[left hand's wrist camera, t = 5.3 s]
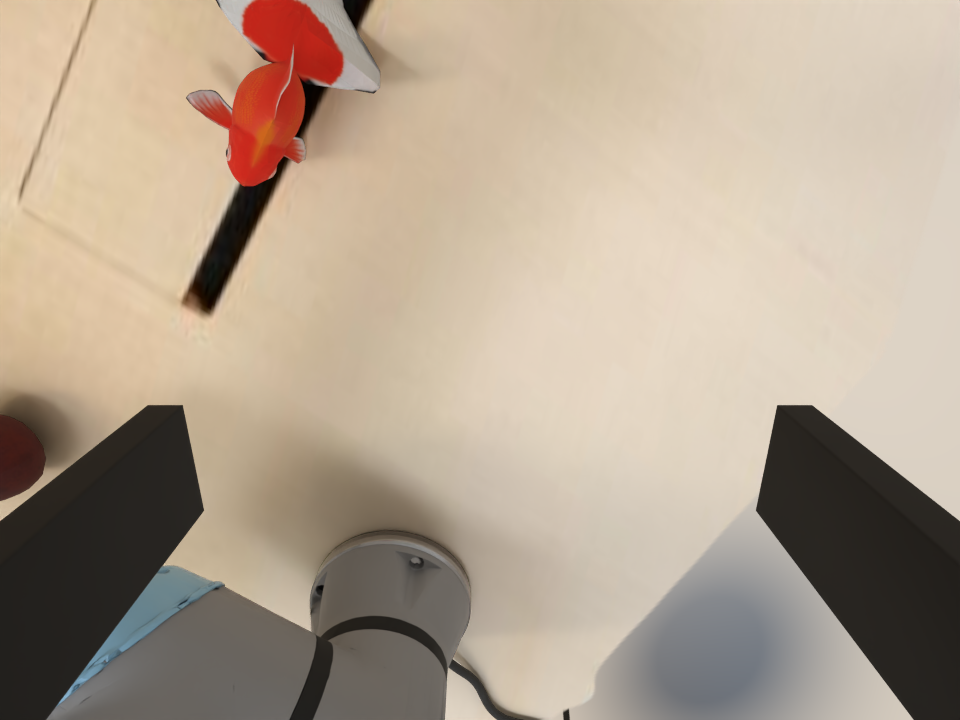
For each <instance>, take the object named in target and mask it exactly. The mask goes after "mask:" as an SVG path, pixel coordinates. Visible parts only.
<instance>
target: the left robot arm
mask: <svg viewBox="0 0 960 720" xmlns="http://www.w3.org/2000/svg"><path fill="white" fill-rule="evenodd" d="M203 511H204V508H203V503H202V498H201V493H200V488H199V483H198V478H197V473H196V469H195V464H194V459H193V454H192V449H191V444H190V439H189V434H188V429H187V424H186V419H185V414H184V410H183V405H148V406H146V407H145V408H144V409H143V410H141V411H140V412H139V413H138V414H136V415H135V416H134V417H132V418H131V419H130V420H129V421H127V422H126V423H125V424H124V425H122V426H121V427H120V428H118V429H117V430H116V431H115V432H113V433H112V434H111V435H109V436H108V437H107V438H106V439H104V440H103V441H102V442H101V443H99V444H98V445H97V446H95V447H94V448H93V449H92V450H90V451H89V452H88V453H87V454H85V455H84V456H83V457H81V458H80V459H79V460H78V461H76V462H75V463H74V464H73V465H71V466H70V467H69V468H67V469H66V470H65V471H64V472H62V473H61V474H60V475H59V476H57V477H56V478H55V479H53V480H52V481H51V482H50V483H48V484H47V485H46V486H45V487H43V488H42V489H41V490H39V491H38V492H37V493H36V494H34V495H33V496H32V497H31V498H29V499H28V500H27V501H25V502H24V503H23V504H22V505H20V506H19V507H18V508H16V509H15V510H14V511H13V512H11V513H10V514H9V515H8V516H6V517H5V518H4V519H2V520H1V521H0V720H445V707H446V688H447V672H448V667H449V668H450V669H451V670H453V671H454V672H456V673H457V674H459V675H460V676H462V677H463V678H465V679H466V680H468V681H469V682H470V683H471V684H472V685H473V686H474V688H475V689H476V691H477V693H478V695H479V697H480V699H481V701H482V703H483V705H484V706H485V708H486V709H487V711H488V712H489V713H490V714H491V715H492V716H493V717H494V718H496V719H497V720H522V719H518V718H514V717H510V716H508V715H505V714H503V713H502V712H500V711H499V710H498V709H496V708H495V706H494V705H493V704H492V702H491V701H490V699H489V697H488V695H487V693H486V691H485V689H484V687H483V685H482V683H481V682H480V681H479V680H478V678H477V677H476V676H475V675H474V674H473V673H471V672H470V671H469V670H467V669H466V668H464V667H463V666H461V665H460V664H458V663H457V662H455V661H454V660H453V656H454V654H455V652H456V649H457V647H458V645H459V642H460V640H461V638H462V636H463V634H464V633H465V631H466V628H467V626H468V623H469V619H470V604H471V591H470V585H469V581H468V578H467V576H466V573H465V571H464V570H463V568H462V566H461V565H460V563H459V562H458V561H457V560H456V558H455V557H454V556H453V555H452V554H451V553H450V552H448V551H447V550H446V549H445V548H443V547H442V546H440V545H439V544H437V543H435V542H433V541H431V540H429V539H427V538H425V537H422V536H419V535H416V534H412V533H407V532H401V531H376V532H370V533H366V534H362V535H359V536H356V537H354V538H351V539H349V540H347V541H346V542H344V543H342V544H341V545H339V546H338V547H336V548H335V549H334V550H333V551H332V552H331V553H330V554H329V555H328V556H327V557H326V559H325V560H324V561H323V563H322V565H321V567H320V569H319V571H318V574H317V576H316V579H315V582H314V584H313V587H312V590H311V595H310V609H311V627H310V628H311V629H312V632H310V631H308V630H306V629H304V628H302V627H300V626H298V625H297V624H295V623H293V622H291V621H289V620H287V619H285V618H283V617H281V616H279V615H277V614H275V613H273V612H271V611H269V610H267V609H266V608H264V607H262V606H260V605H258V604H256V603H254V602H252V601H251V600H249V599H247V598H245V597H243V596H241V595H239V594H237V593H235V592H234V591H232V590H230V589H228V588H226V587H225V585H224V584H223V583H222V582H219V581H217V582H213V581H210V580H208V579H206V578H203V577H201V576H199V575H196V574H194V573H192V572H190V571H188V570H185V569H183V568H181V567H178V566H169V565H168V566H163V564H164V563H165V562H166V560H167V559H168V558H169V556H170V555H171V554H172V552H173V551H174V550H175V548H176V547H177V546H178V544H179V543H180V542H181V540H182V539H183V538H184V536H185V535H186V534H187V532H188V531H189V530H190V528H191V527H192V526H193V524H194V523H195V522H196V520H197V519H198V518H199V517H200V515H201V514H202V513H203ZM756 511H757V512H758V514H759V515H760V517H761V518H762V519H763V520H764V522H765V523H766V524H767V526H768V527H769V528H770V530H771V531H772V532H773V534H774V535H775V536H776V538H777V539H778V540H779V542H780V543H781V544H782V546H783V547H784V548H785V550H786V551H787V552H788V554H789V555H790V556H791V558H792V559H793V560H794V561H795V563H796V564H797V565H798V567H799V568H800V570H801V571H802V572H803V574H804V575H805V576H806V577H807V579H808V580H809V581H810V583H811V584H812V585H813V587H814V588H815V589H816V591H817V592H818V593H819V595H820V596H821V597H822V599H823V600H824V601H825V603H826V604H827V605H828V607H829V608H830V609H831V611H832V612H833V613H834V615H835V616H836V617H837V619H838V620H839V621H840V623H841V624H842V625H843V626H844V628H845V629H846V630H847V632H848V633H849V634H850V636H851V637H852V638H853V640H854V641H855V642H856V644H857V645H858V646H859V648H860V649H861V650H862V652H863V653H864V654H865V656H866V657H867V658H868V660H869V661H870V662H871V664H872V665H873V666H874V668H875V669H876V670H877V672H878V673H879V674H880V676H881V677H882V678H883V680H884V681H885V682H886V684H887V685H888V686H889V688H890V689H891V690H892V691H893V693H894V694H895V695H896V697H897V698H898V699H899V701H900V702H901V703H902V705H903V706H904V707H905V709H906V710H907V711H908V713H909V714H910V715H911V717H912V718H913V719H914V720H960V521H959V520H958V519H956V518H955V517H954V516H952V515H951V514H950V513H949V512H947V511H946V510H945V509H944V508H942V507H941V506H940V505H938V504H937V503H936V502H935V501H933V500H932V499H931V498H929V497H928V496H927V495H926V494H924V493H923V492H922V491H921V490H919V489H918V488H917V487H915V486H914V485H913V484H912V483H910V482H909V481H908V480H906V479H905V478H904V477H903V476H901V475H900V474H899V473H898V472H896V471H895V470H894V469H893V468H891V467H890V466H889V465H887V464H886V463H885V462H884V461H882V460H881V459H880V458H879V457H877V456H876V455H875V454H873V453H872V452H871V451H870V450H868V449H867V448H866V447H864V446H863V445H862V444H861V443H859V442H858V441H857V440H856V439H854V438H853V437H852V436H851V435H849V434H848V433H847V432H845V431H844V430H843V429H842V428H840V427H839V426H838V425H836V424H835V423H834V422H833V421H831V420H830V419H829V418H828V417H826V416H825V415H824V414H822V413H821V412H820V411H819V410H817V409H816V408H815V407H814V406H812V405H777V410H776V414H775V419H774V424H773V429H772V434H771V439H770V444H769V449H768V454H767V459H766V464H765V469H764V473H763V478H762V483H761V488H760V493H759V498H758V503H757V508H756ZM309 611H310V610H309ZM563 720H570V714H569V709H567V710H565V711H563Z"/></svg>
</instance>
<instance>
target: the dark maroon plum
mask: <svg viewBox="0 0 960 720" xmlns="http://www.w3.org/2000/svg"><path fill="white" fill-rule="evenodd" d="M45 460H46V457H45V453H44V449H43V446H42V445H41V443H40V441H39V440H38V438H37V437H36V435H35V434H34V433H33V432H32V431H31V430H30V429H29V428H28V427H27V426H26V425H25V424H23V423H22V422H20V421H18V420H16V419H14V418H11V417H9V416H4V415H0V501H2V500H6V499H8V498H11V497H13V496H15V495H18V494H20V493H22V492H24V491H25V490H27V489H29V488H30V487H31V486H32V485H33V484H34V483H35V482H36V481H37V480H38V479H39V478H40V477H41V476H42V474H43V471H44V465H45Z"/></svg>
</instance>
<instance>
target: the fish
mask: <svg viewBox="0 0 960 720" xmlns="http://www.w3.org/2000/svg"><path fill="white" fill-rule="evenodd" d="M216 1H217V3H218V5H219V7H220V8H221V10H222V11H223V12H224V14H225V15H226V17H227V18H228V20H229V21H230V22H231V23H232V25H233V26H234V27H235V28H236V29H237V30H238V32H239V33H240V34H241V35H242V36H243V37H244V38H245V40H246V41H247V42H248V43H249V44H250V45H251V46H252V47H253V48H254V50H255V51H256V52H257V53H258V54H259V55H260V56H261V57H262V58H263V59H264V60H266V61H269V62H271V64H268V65H265V66H262V67H260V68H257V69H255V70H254V71H252V72H251V73H249V74H248V75H247V76H246V77H245V79H244V80H243V81H242V82H241V84H240V85H239V87H238V90H237V93H236V96H235V99H234V104H233V109H232V108H231V107H230V106H229V105H228V104H227V103H226V102H225V101H224V100H223V99H222V97H221V96H220V95H219V94H218V93H217V92H216V91H213V90H199V91H196V92H192V93H190V94H189V95H188V96H187V97H186V99H187V100H188V101H189V102H190V104H191V105H192V106H193V107H194V108H195V109H197V110H198V111H200V112H201V113H202V114H203V115H205V116H206V117H207V118H208V119H210V120H212V121H213V122H215V123H217V124H218V125H220V126H222V127H224V128H226V129H228V130H229V145H228V148H227V150H226V157H227V162H228V165H229V168H230V170H231V172H232V174H233V176H234V177H235V179H236V180H237V181H238V182H239V183H240V184H241V185H243V186H255V185H257V184H259V183H261V182H263V181H265V180H267V179H270V178H272V177H273V176H274V174H275V173H276V169H277V164H278V162H279V161H280V160H281V159H282V157H283V156H285V157H287V158H289V159H290V160H292V161H294V162H296V163H300V162H301V161H302V160H305V156H306V148H305V143H304V140H303V139H302V138H299V137H295V135H296V134H297V132H298V130H299V127H300V125H301V122H302V119H303V115H304V108H305V96H304V91H303V87H302V84H301V81H300V79H301V80H302V81H303V82H304V83H306V84H312V85H319V86H326V87H333V88H338V89H345V90H358V91H363V92H368V93H375V92H376V91H377V90H378V89H379V88H380V70H379V68H378V66H377V65H376V63H375V61H374V59H373V57H372V56H371V54H370V52H369V50H368V49H367V47H366V45H365V44H364V42H363V40H362V39H361V37H360V36H359V34H358V32H357V31H356V29H355V28H354V26H353V24H352V22H351V20H350V18H349V16H348V15H347V13H346V11H345V9H344V6H343V0H216Z"/></svg>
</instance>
